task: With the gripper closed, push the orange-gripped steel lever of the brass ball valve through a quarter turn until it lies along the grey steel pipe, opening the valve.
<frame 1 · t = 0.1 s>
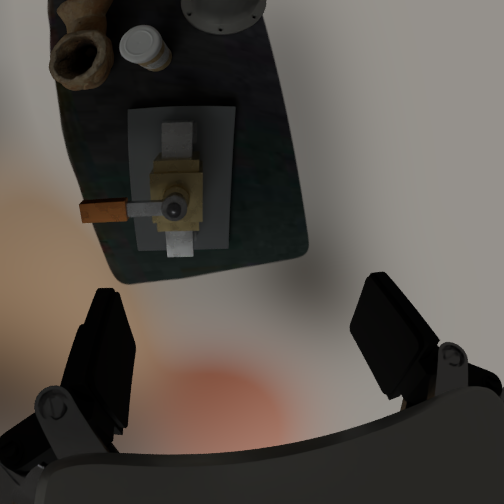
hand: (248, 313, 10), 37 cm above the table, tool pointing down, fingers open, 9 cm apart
valve board: (180, 180, 43), on the table
lever: (131, 209, 32), point 12 cm above the table, hinge at -90.0°
valve: (177, 192, 38), on the valve board, point 6 cm above the table
sprinkles bottle: (157, 58, 32), on the table
pipe: (98, 43, 29), on the table
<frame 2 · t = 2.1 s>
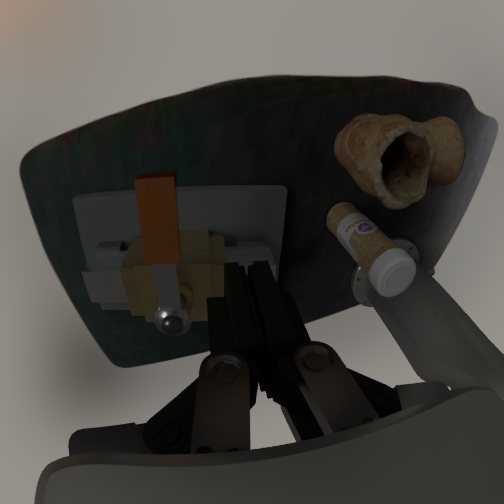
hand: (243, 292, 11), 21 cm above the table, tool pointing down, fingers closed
valve board: (180, 250, 33), on the table
lever: (164, 267, 21), point 12 cm above the table, hinge at -90.0°
valve: (176, 281, 28), on the valve board, point 6 cm above the table
sprinkles bottle: (340, 217, 35), on the table
pipe: (381, 142, 30), on the table
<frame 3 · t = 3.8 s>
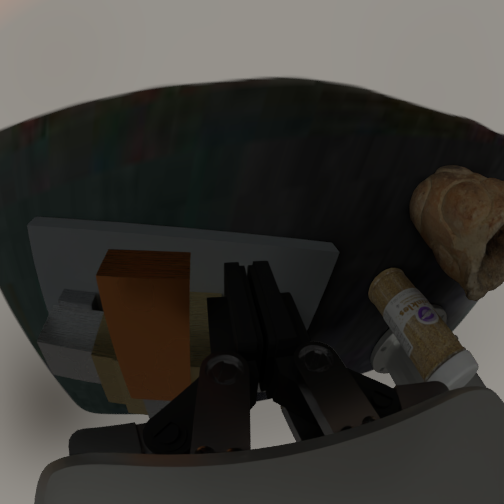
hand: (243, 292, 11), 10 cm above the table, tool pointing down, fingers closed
valve board: (175, 310, 23), on the table
lever: (162, 398, 11), point 12 cm above the table, hinge at -86.9°, touching gripper
valve: (172, 368, 18), on the valve board, point 6 cm above the table
sprinkles bottle: (384, 283, 26), on the table
pipe: (449, 198, 23), on the table
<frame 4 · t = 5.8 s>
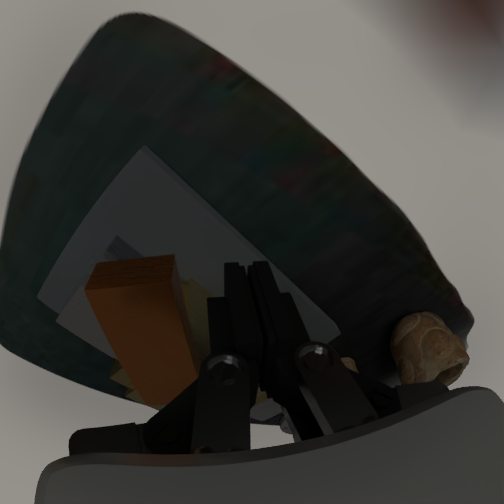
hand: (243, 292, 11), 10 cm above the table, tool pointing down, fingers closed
valve board: (193, 312, 24), on the table
lever: (178, 402, 11), point 12 cm above the table, hinge at -39.2°, touching gripper
valve: (195, 370, 19), on the valve board, point 6 cm above the table
pipe: (411, 330, 33), on the table
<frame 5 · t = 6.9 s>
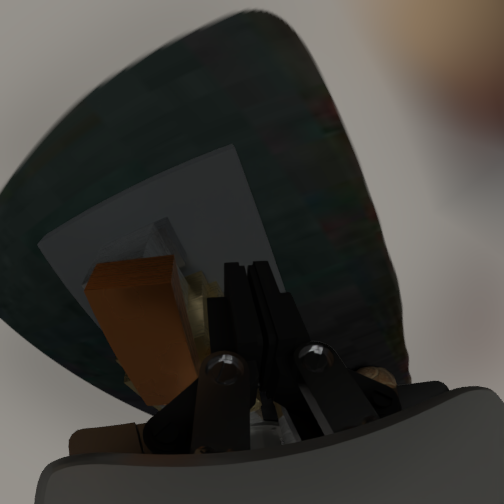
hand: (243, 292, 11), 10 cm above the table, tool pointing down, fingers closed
valve board: (193, 313, 24), on the table
lever: (179, 402, 11), point 12 cm above the table, hinge at -16.6°, touching gripper
valve: (195, 371, 19), on the valve board, point 6 cm above the table
sprinkles bottle: (288, 395, 35), on the table
pipe: (360, 381, 37), on the table
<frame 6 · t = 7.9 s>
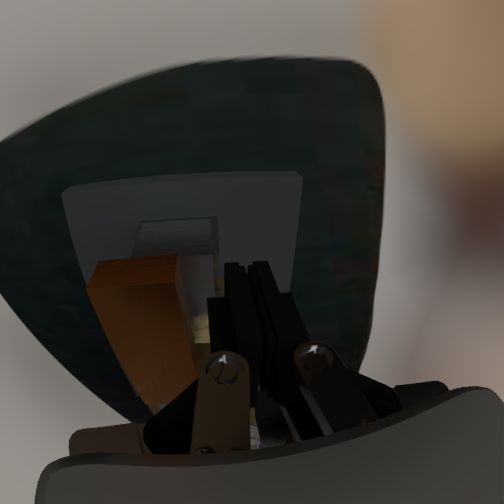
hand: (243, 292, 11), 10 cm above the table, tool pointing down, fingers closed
valve board: (191, 312, 24), on the table
lever: (177, 401, 11), point 12 cm above the table, hinge at 2.0°, touching gripper
valve: (192, 370, 19), on the valve board, point 6 cm above the table
sprinkles bottle: (237, 409, 35), on the table
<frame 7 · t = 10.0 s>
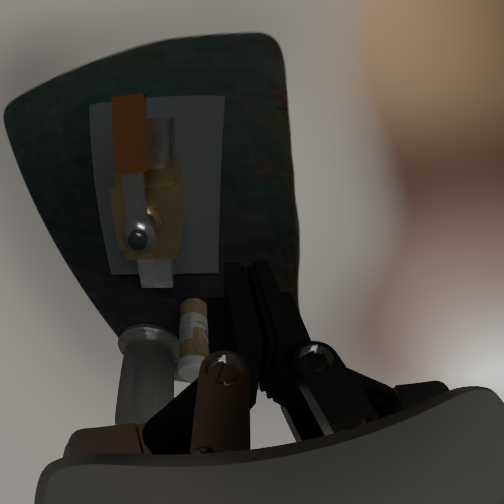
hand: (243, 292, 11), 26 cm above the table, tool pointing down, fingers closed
valve board: (157, 190, 34), on the table
lever: (132, 178, 21), point 12 cm above the table, hinge at 0.8°
valve: (149, 210, 29), on the valve board, point 6 cm above the table
sprinkles bottle: (193, 306, 45), on the table
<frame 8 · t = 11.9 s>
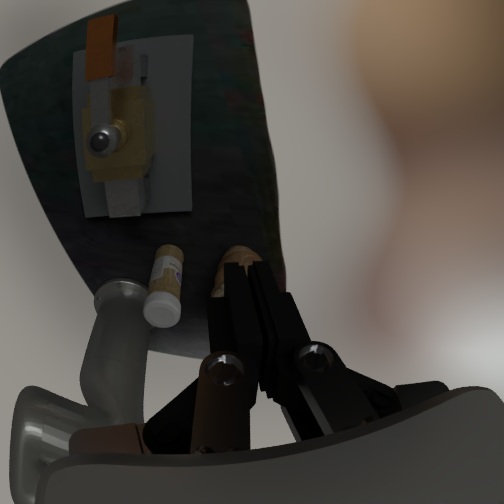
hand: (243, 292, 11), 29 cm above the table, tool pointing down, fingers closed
valve board: (131, 126, 32), on the table
lever: (99, 85, 19), point 12 cm above the table, hinge at 0.8°
valve: (118, 132, 26), on the valve board, point 6 cm above the table
sprinkles bottle: (169, 255, 43), on the table
pipe: (238, 278, 47), on the table
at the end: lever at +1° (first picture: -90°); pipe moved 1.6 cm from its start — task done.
